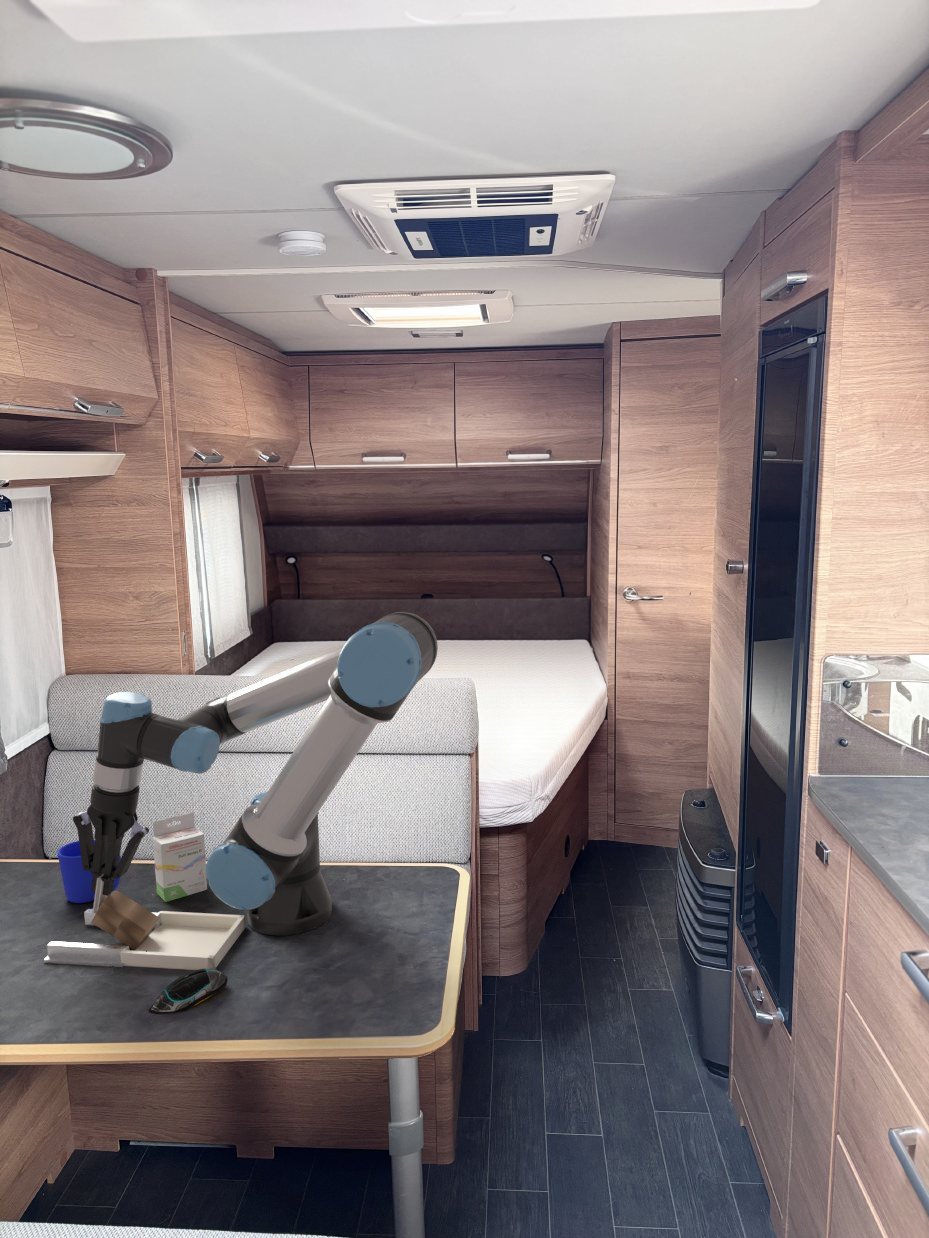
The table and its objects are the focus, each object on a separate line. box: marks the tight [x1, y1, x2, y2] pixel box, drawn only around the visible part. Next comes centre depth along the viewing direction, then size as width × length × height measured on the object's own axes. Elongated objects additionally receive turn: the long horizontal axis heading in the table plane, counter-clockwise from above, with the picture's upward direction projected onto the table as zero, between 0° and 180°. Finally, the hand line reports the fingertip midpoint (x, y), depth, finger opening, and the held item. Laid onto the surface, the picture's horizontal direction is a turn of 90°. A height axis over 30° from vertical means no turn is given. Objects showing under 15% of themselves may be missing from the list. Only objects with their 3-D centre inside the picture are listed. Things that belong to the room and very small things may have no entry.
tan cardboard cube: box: [112, 903, 159, 951], centre depth 153 cm, size 4×4×4 cm
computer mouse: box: [148, 968, 229, 1015], centre depth 136 cm, size 6×12×4 cm, turn 123°
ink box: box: [152, 812, 208, 903], centre depth 170 cm, size 9×5×15 cm, turn 127°
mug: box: [57, 839, 122, 904], centre depth 169 cm, size 8×12×10 cm
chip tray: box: [120, 910, 247, 971], centre depth 152 cm, size 16×14×2 cm
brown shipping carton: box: [91, 889, 138, 937], centre depth 153 cm, size 4×4×4 cm
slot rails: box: [43, 908, 162, 968], centre depth 154 cm, size 14×15×2 cm
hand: (99, 909), depth 153 cm, fingers closed
